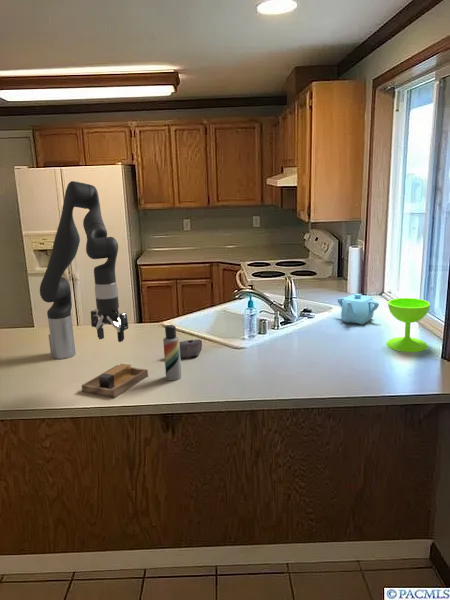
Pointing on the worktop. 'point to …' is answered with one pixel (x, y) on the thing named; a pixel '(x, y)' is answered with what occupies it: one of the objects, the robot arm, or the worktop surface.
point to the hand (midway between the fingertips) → (111, 340)
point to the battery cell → (115, 376)
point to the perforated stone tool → (190, 348)
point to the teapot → (357, 308)
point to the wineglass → (408, 322)
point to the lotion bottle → (172, 353)
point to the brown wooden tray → (95, 388)
